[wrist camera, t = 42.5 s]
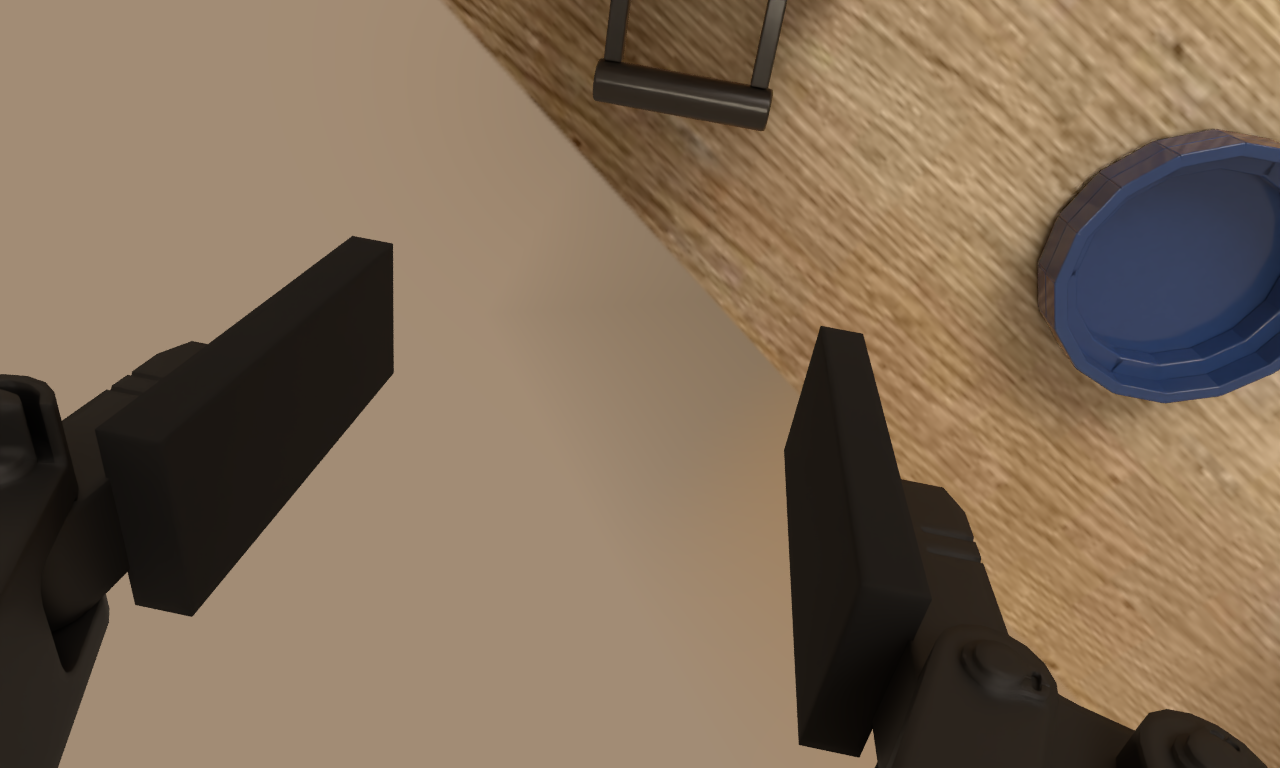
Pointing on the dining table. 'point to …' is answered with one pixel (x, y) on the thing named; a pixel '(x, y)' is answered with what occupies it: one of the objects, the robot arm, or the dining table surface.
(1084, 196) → the bowl
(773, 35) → the drawer
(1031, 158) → the dining table surface
